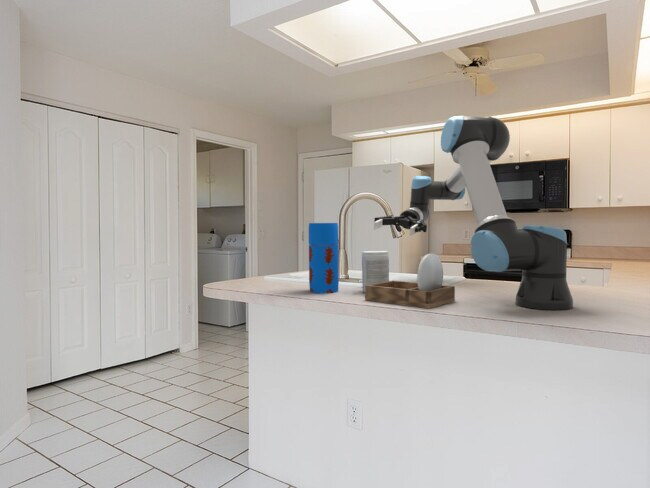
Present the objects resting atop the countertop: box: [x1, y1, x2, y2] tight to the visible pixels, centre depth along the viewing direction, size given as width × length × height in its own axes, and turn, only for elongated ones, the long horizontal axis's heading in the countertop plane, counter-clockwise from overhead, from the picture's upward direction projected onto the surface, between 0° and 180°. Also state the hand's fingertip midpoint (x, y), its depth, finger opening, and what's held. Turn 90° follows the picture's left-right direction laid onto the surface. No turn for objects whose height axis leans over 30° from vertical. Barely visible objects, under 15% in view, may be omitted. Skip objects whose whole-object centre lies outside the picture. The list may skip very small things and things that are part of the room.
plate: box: [416, 253, 444, 291], centre depth 137 cm, size 1×14×14 cm, turn 138°
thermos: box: [308, 222, 340, 294], centre depth 164 cm, size 11×11×25 cm
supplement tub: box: [361, 250, 390, 293], centre depth 161 cm, size 10×10×15 cm
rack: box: [364, 280, 456, 309], centre depth 142 cm, size 23×16×5 cm
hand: (392, 228), depth 159 cm, fingers open, 13 cm apart
